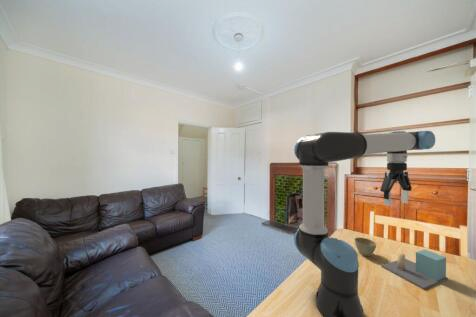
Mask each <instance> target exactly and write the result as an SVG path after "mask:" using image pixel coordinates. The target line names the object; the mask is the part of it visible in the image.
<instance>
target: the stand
mask: <svg viewBox="0 0 476 317" xmlns="http://www.w3.org/2000/svg"><path fill="white" fill-rule="evenodd" d="M381 268H383V269H384V270H387V271H388V272H390V273H392V274H394V275H396V276H397V277H399V278H401V279H403V280H405V281H407V282H408V283H411V284H413V285H414V286H416V287H417V288H420V289H422V290H426V289H428V288H431V287H433V286H436V285H438V284H441V283H443V282H445V281H448V280H449V279H448V278H449V277H447V276H446V277H445V278H443V279H440V280H438V281H436V280H434V279H431V278H429V277H427V276H425V275H423V274H421V273H419V272H417V271H416V262H414V261H412V260H409V259H407V258H406V255H405V254H404V253H403V252H397V259H396V260H395V261H391V262H388V263H385V264H381Z"/></svg>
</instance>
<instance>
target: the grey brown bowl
mask: <svg viewBox="0 0 476 317" xmlns="http://www.w3.org/2000/svg"><path fill="white" fill-rule="evenodd" d="M354 244H355V247H356V248H357V251H358V253H359V254H360V255H362V256H365V257H370V256H372V255H373V253H374V252H375V251H376V248H377V243H376V242H375V241H373V240H372V239H369V238H367V237H366V238H365V237H355V238H354Z"/></svg>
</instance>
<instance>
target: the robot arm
mask: <svg viewBox="0 0 476 317" xmlns="http://www.w3.org/2000/svg"><path fill="white" fill-rule="evenodd" d="M435 145H436V135H435V134H434V132H433V131H431V130H419V131H405V130H403V131H402V130H401V131H399V130H396V131H389V132H385V133H372V134H371V133H369V134H363V133H361V132H357V131H356V132H354V131H353V132H348V131H346V132H345V131H344V132H341V131H326V132H321V133H313V134H308V135H305V136H302V137H300V138H299V139H298V140H297V141H296V143H295V145H294V149H293V150H294V155H295V157H296V158H297V160H299V161H298V164H299V167H300V168H301V169H302V223H301V224H299V225H298V226H299V227H298V229H297V230H296V232H295V234H294V237H293V239H294V240H293V243H294V246H295V248H296V249H297V250H298V252H299V253H300V254H301V255H302V256H303V257H304V258H306V259H307V260H308V261H310V262H311V263H312V264H313V265H314V266H316V268H318V269H319V270H320V283H319V286H318V289H317V291H316V293H315V306H316V307H317V310H318V309H319V310H318V311H319V312H320V314H321V315H322V316H323V317H365V312H364V308H363V306H362V303H361V300H360V297H359V266H360V264H359V263H360V262H359V257H358V253H357V250H356V249H355V248H354V247H353V246H352V245H351V244H350V243H348V242H346V241H344V240H342V239H338V238H336V237H329V229H328V228H327V227H326V226H325V170H326V169H327V168H328V167H329V163H335V162H340V161H346V160H351V159H359V158H362V157H363V156H364V155H372V154H374V155H375V154H382V153H386V162H387V163H386V169H387V170H388V171H389V172H388V171H385V173H384V178H383V179H382V180H383V181H382V184H381V187H380V191H381V192H382V193H383V206H387V207H391V206H392V192H391V191H392V188H393V187H394V185H395V183H397V182H398V184H399V186H400V188H401V190H400V191H401V193H400V194H401V195H400V202H401V203H404V204H409V192H412V184H411V181H410V178H409V171H407V170H408V165H407V164H408V163H407V162H408V151H417V150H418V151H423V150H430V149H432V148H433V147H434V146H435Z"/></svg>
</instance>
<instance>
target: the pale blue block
mask: <svg viewBox="0 0 476 317" xmlns="http://www.w3.org/2000/svg"><path fill="white" fill-rule="evenodd" d="M415 263H416V271H417V272H419V273H421V274H423V275H425V276H427V277H429V278H431V279H434V280H436V281H438V280H440V279H443V278H445V277H447V256H443V255H441V254H439V253H436V252H432V251H430V250H427V249H421V250H418V251H415Z"/></svg>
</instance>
